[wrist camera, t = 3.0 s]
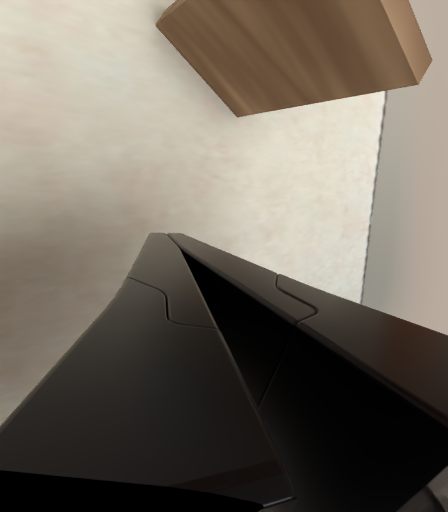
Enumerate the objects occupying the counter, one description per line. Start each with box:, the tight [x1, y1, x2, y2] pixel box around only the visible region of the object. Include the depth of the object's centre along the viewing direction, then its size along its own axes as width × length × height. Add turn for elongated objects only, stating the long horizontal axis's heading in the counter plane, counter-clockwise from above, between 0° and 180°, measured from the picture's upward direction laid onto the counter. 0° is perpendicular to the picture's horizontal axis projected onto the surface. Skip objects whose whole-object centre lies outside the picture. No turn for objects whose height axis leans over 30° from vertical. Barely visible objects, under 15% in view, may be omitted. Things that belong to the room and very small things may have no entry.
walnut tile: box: [156, 0, 432, 117], centre depth 16 cm, size 1×7×12 cm, turn 52°
